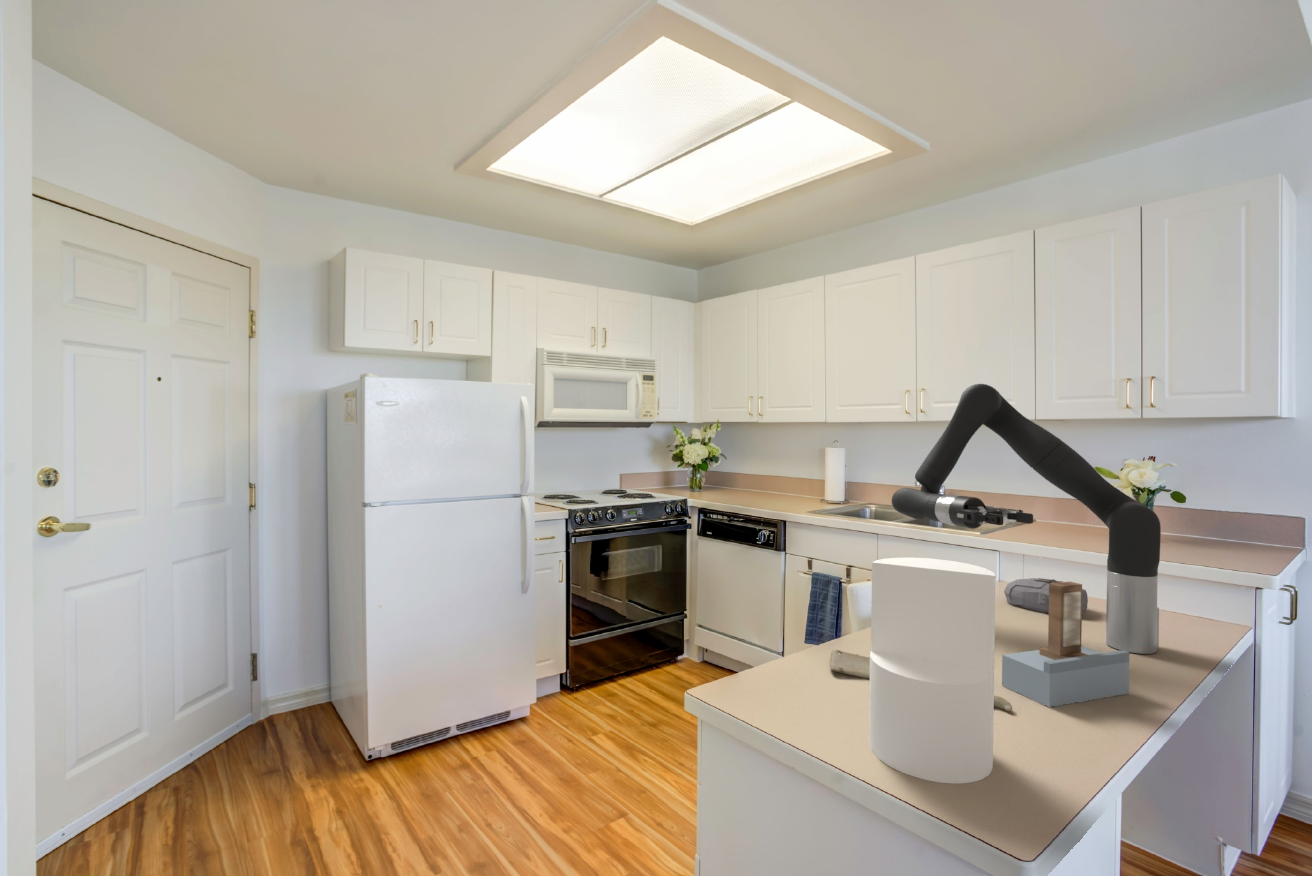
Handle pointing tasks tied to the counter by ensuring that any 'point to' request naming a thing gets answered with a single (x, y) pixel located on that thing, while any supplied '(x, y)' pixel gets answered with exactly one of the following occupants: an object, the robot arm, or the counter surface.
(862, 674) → the decorative wall piece
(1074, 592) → the brown wooden block
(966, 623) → the cylinder
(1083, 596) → the grey rounded bag
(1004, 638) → the counter surface
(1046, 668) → the display riser
